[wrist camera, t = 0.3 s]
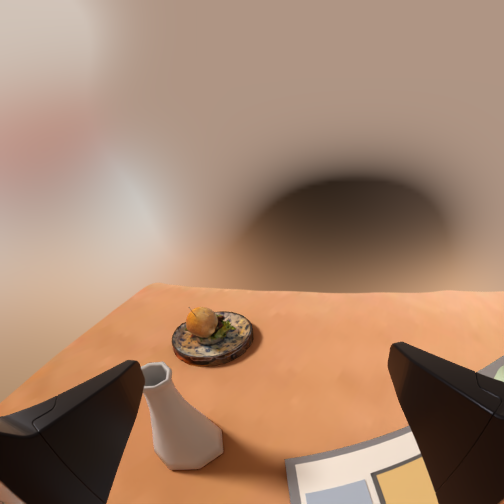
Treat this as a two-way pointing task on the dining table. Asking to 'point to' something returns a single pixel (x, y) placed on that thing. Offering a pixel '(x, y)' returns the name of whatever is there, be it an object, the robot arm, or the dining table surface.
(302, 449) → the dining table surface
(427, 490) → the colouring board
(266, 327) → the dining table surface
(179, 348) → the plate of food
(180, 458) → the flask
